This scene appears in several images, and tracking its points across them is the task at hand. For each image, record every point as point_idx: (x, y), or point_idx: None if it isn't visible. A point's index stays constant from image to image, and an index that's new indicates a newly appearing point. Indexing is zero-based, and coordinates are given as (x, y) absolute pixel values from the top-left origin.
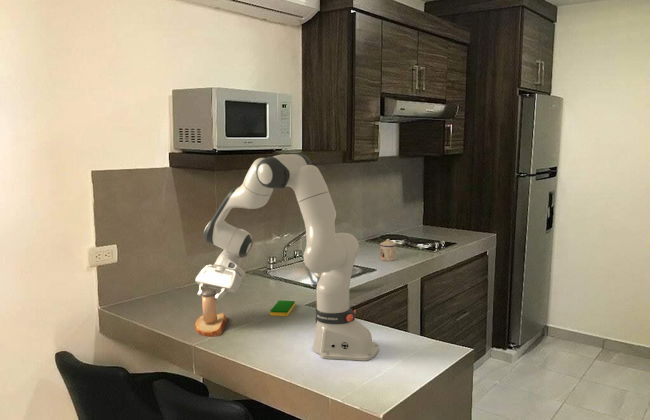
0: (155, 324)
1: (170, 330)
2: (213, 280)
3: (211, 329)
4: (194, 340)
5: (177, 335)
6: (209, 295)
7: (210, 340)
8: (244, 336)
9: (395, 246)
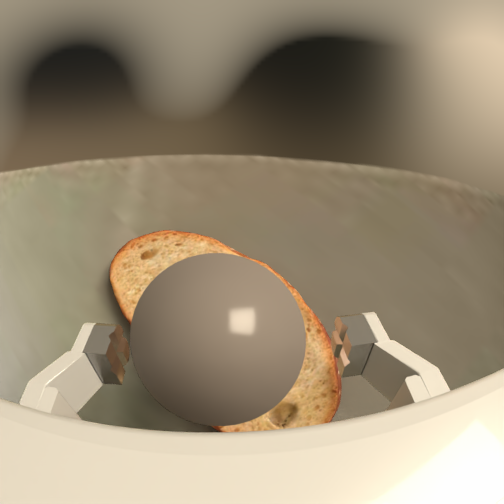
0: (430, 207)
1: (336, 194)
2: (236, 498)
3: (148, 270)
4: (160, 180)
5: (263, 174)
6: (149, 290)
7: (106, 217)
8: (33, 323)
9: None
